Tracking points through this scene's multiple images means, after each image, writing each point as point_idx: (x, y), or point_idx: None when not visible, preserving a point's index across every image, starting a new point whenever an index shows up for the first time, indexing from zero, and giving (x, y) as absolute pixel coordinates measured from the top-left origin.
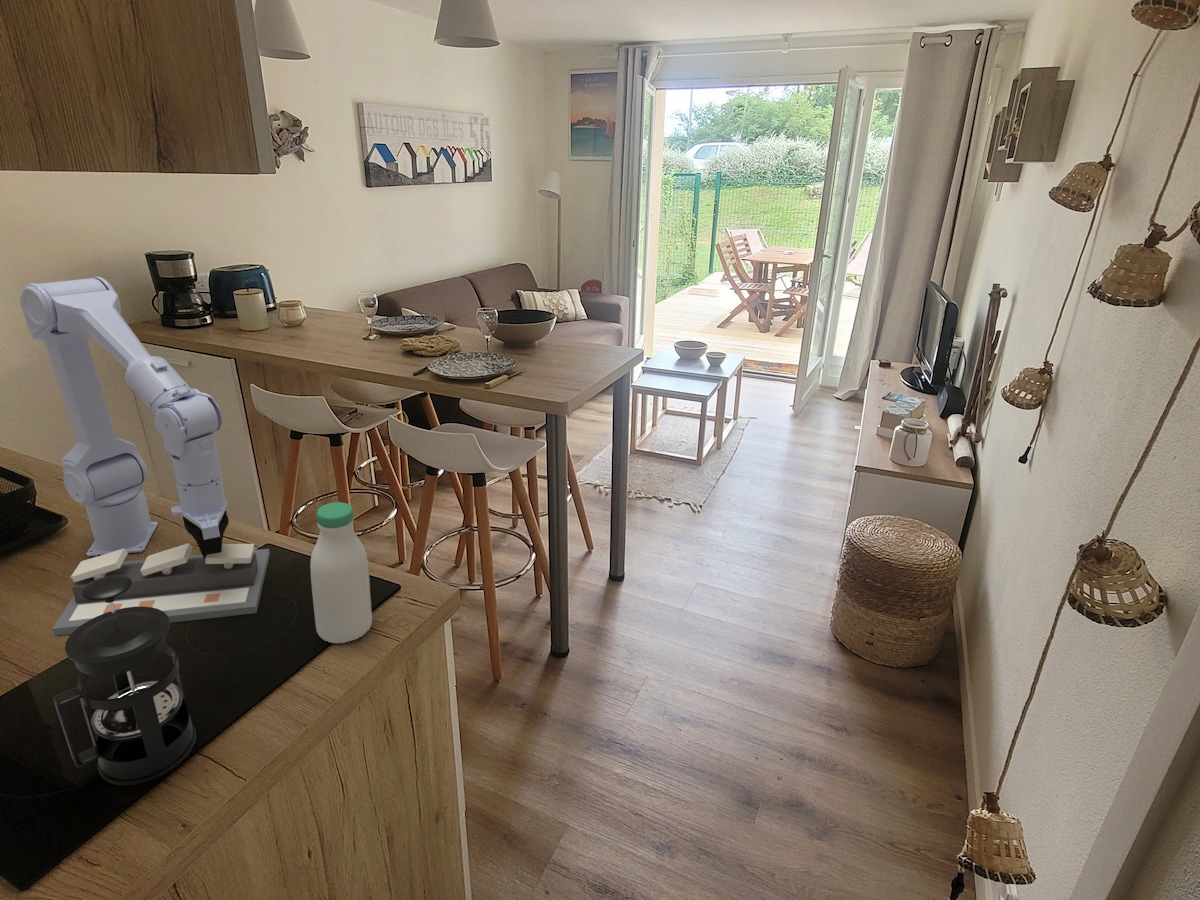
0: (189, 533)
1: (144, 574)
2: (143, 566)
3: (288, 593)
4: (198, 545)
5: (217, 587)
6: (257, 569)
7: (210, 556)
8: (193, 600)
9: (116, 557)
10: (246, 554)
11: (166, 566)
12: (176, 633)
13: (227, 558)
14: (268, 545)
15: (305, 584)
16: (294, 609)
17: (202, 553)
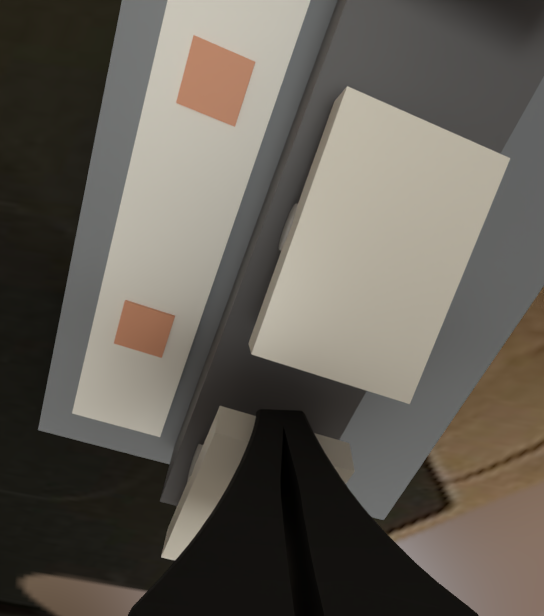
0: (149, 593)
1: (334, 108)
2: (384, 114)
3: (126, 495)
4: (230, 481)
5: (207, 357)
6: None
7: (226, 452)
8: (159, 268)
9: None
10: None
11: (288, 240)
12: (19, 169)
13: (185, 498)
14: (437, 505)
15: (154, 535)
16: (32, 491)
17: (252, 437)
